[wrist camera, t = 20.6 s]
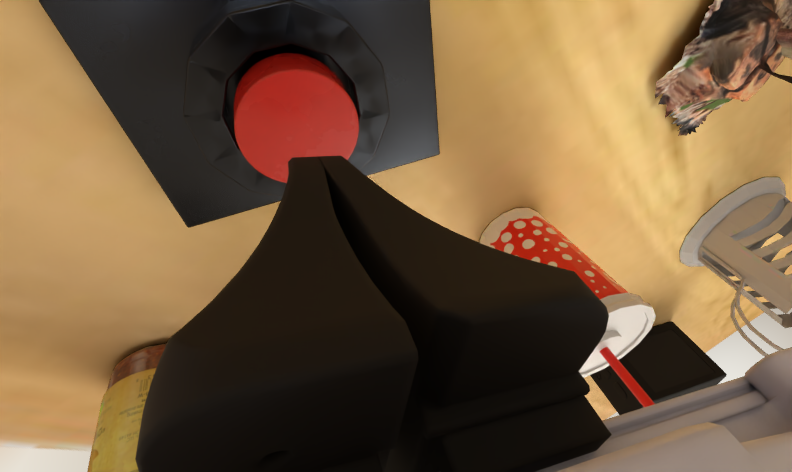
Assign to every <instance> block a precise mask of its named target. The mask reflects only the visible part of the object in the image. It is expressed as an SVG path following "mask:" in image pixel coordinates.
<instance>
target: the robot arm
mask: <svg viewBox="0 0 792 472" xmlns="http://www.w3.org/2000/svg"><path fill="white" fill-rule="evenodd" d="M288 172H289V174H288V179H287V184H286V187H285V190H284V194H283V197H282V200H281V202H280V205H279V207H278V209H277V211H276V214H275V216H274V218H273V220H272V222H271V224H270V226H269V228H268V230H267V232H266V233H265V235H264V237H263V238H262V240H261V241H260V243H259V245H258V246H257V248H256V249H255V250H254V252H253V253H252V255H251V256H250V257H249V259H248V260H247V262H246V263H245V264H244V266H243V267H242V268H241V269H240V271H239V272H238V273H237V274H236V275H235V276H234V278H233V279H232V280H231V281H230V282H229V283H228V284H227V285H226V286H225V287H224V288H223V290H222V291H221V292H220V293H219V294H218V295H217V296H216V297H215V298H214V299H213V300H212V301H211V302H210V303H209V304H208V305H207V306H206V307H205V308H204V309H203V310H202V311H201V312H200V313H198V314H197V315H196V316H195V317H194V318H193V319H192V320H191V321H189V322H188V323H187V324H186V325H185V326H184V327H183V328H182V329H180V330H179V331H178V332H177V333H176V334H174V335H173V336H172V337H171V338H170V339H169V340H168V342H167V344H166V346H165V348H164V351H163V353H162V356H161V358H160V361H159V363H158V365H157V368H156V371H155V374H154V376H153V379H152V382H151V385H150V389H149V392H148V395H147V398H146V401H145V405H144V410H143V414H142V420H141V426H140V432H139V439H138V445H137V451H136V457H135V460H136V463H137V467H138V470H139V472H792V347H791V348H788V349H784V350H781V351H777V352H775V353H772V354H770V355H768V356H766V357H765V358H763V359H761V360H760V361H759V362H757V363H756V364H755V365H754V366H752V367H751V368H750V369H749V370H748V371H747V372H746V373H745V376H744V377H740V378H737V379H734V380H731V381H728V382H725V383H721V384H718V385H715V386H712V387H708V388H705V389H702V390H699V391H696V392H692V393H689V394H686V395H683V396H680V397H676V398H673V399H670V400H667V401H664V402H660V403H657V404H654V405H651V406H648V407H644V408H641V409H638V410H635V411H632V412H628V413H625V414H622V415H619V416H616V417H612V418H609V419H606V420H603V421H602V420H601V419H600V417H599V416H598V415H597V413H596V412H595V410H594V409H593V407H592V406H591V405H590V403H589V402H588V400H587V399H586V398H585V396H584V395H587V394H588V392H589V391H590V388H589V385H588V383H587V382H586V381H585V379H584V378H583V377H582V375H581V374H580V372H579V370H580V369H581V368H582V366H583V365H584V363H585V362H586V361H587V359H588V358H589V356H590V355H591V354H592V352H593V351H594V349H595V348H596V347H597V345H598V344H599V342H600V341H601V339H602V337H603V335H604V333H605V332H606V328H607V323H608V318H609V314H608V311H607V307H606V306H605V305H604V304H603V302H602V301H601V300H600V299H599V298H598V297H597V296H596V295H595V294H594V293H593V291H592V290H591V289H590V288H589V287H588V286H587V285H586V284H585V283H584V282H583V280H582V279H581V278H580V277H579V276H578V275H577V274H576V273H575V272H574V271H571V270H567V269H563V268H559V267H555V266H551V265H547V264H544V263H540V262H536V261H532V260H528V259H525V258H521V257H518V256H515V255H512V254H509V253H506V252H503V251H500V250H497V249H494V248H492V247H489V246H486V245H484V244H481V243H478V242H476V241H474V240H471V239H469V238H467V237H464V236H462V235H460V234H458V233H455V232H453V231H451V230H449V229H447V228H445V227H443V226H441V225H439V224H437V223H435V222H433V221H432V220H430V219H428V218H426V217H424V216H422V215H421V214H419V213H417V212H416V211H414V210H412V209H411V208H409V207H408V206H406V205H405V204H403V203H402V202H400V201H399V200H397V199H396V198H394V197H393V196H392V195H390V194H389V193H387V192H386V191H385V190H383V189H382V188H381V187H379V186H378V185H377V184H376V183H374V182H373V181H372V180H371V179H369V178H368V177H367V176H366V175H364V174H363V173H362V172H361V171H360V170H358V169H357V168H356V167H355V166H354V165H352V164H351V163H350V162H349V161H348V160H346V159H345V158H344V157H342V156H317V157H292V158H291V159H290V160H289V161H288Z"/></svg>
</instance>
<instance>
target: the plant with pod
mask: <svg viewBox="0 0 792 472" xmlns="http://www.w3.org/2000/svg"><path fill="white" fill-rule="evenodd" d="M708 8H710V10H709V11H708V12H707V13H706V15H705V17H704V20H703V22H702V24H701V26H700V35H699V36H698V37H696V38H695V39H694V40H693V41H691V42H690V43H689V44H688V45H686V47H685V50H684V54H683V57H682V60H681V61H680V62H678V63H677V64H676V65H675V66H674V68H673V70H671V71H668V72H667V73H666V75H665V76H664V77H662V78H661V79H659V80H658V81H656V92H655V98H656V97H658V96H659V95H661V94H662V93H664V94H663V96H662V98H661V100H660V102H659V104H666V105H667V107H666V115H665V118H666V117H667V116H668V115H669V114H670V113H671V112H672V111H673V110H674V109H675V110H674V112H673V113H672V114H671V115H670V116H672V115H674V114H676V113H677V114H676V115H674V116H673V118H678V119H677V120H676V121H674V122H673V123H672V124H674V123H678V124H677V126H678V125H681V126H682V127H681V126H680V127H681V128H680V127H679V128H680V129H679V130H680V132H679V135H687V134H688V133H689V134H691V131H693V132H696V130H695V128H696V127H699V125H700V124H703V122H702V121H705V120H706V117H707V115H708V114H709V113H711V112H712V111H713V110H716V109H719V108H720V107H721V106H722V105H724V104H725V103H726V102H729V101H730V100H732V99H739V100H741V101H742V102H743V101H749V99H750V97H751V96H752V95H755V94H756V93H757V91H758V90H759V89H760V88H761V87H762V86H763V85H764V84H765V82H766V81H767V80H768V79H769V77H770V76H771V75H773V76H775V77H777V78H780V79H783V80H785V81H787V82H790V83H792V77H790V76H784V75H779V74H776V73H774V71H775V70H776V68H777V67H778V66H779V65H780V64H781V62H782V61H783V59H784V58H785V57H788V58H790V59H792V0H714V3H713V4H712V5H710V6H708ZM678 112H679V113H678ZM670 116H669V117H670ZM679 130H678V131H679ZM679 135H678V136H679Z"/></svg>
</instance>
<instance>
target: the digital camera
mask: <svg viewBox="0 0 792 472" xmlns="http://www.w3.org/2000/svg"><path fill="white" fill-rule="evenodd" d="M619 361H620V363H621V364H622V365H623V366H624V367H625V369H626V370H627V371H628V372H629V373H630V375H631V376H632V377H633V378H634V379H635V381H636V382H637V383H638V384H639V385H640V386H641V388H642V389H643V390H644V391H645V392H646V394H647V395H648V396H649V397H650V398H651V400H652V401H653V402H654V403H655V404H657V403H660V402H664V401H667V400H670V399H673V398H676V397H680V396H683V395H686V394H689V393H692V392H696V391H699V390H702V389H705V388H708V387H712V386H715V385H717V384H718V383H719V382H720V381H721V380H722V379H723V378H724V377H726V373H725V372H724V371H723V370H722V369H721V368H720V367H719V366H718V365H717V364H716V363H715V362H714V361H713V360H712V359H711V358H709V356H707V355H706V354H705V353H704V352H703V351H702V350H701V349H700V348H699V347H698V346H697V345H696V344H695V343H694V342H693V341H692V340H691V339H690V338H689V337H688V336H687V335H686V334H685V333H684V332H683V331H682V330H680V329H679V328H678V327H677V326H676V325H675V324H674V323H673V322H669V323H665V324H662V325H659V326H656V327H652V328H651V330H650V331H649V332H648V333H647V335H646V336H645V337H644V338H643V339H642V341H641V342H640V343H639V344H638V345H637V346H635V347H634V348H633V349H632V350H631V351H629V352H628V353H627V354H626V355H625V356H623V357H622V358H620V359H619ZM590 376H591V377H592V378H593V380H594V381H595V382H596V384H597V385H598V386H599V388H600V389H601V391H602V392H603V393H604V395H605V396H606V397H607V399H608V400H609V401H610V403H611V404H612V405H613V407H614V408H615V409H616V411H617V412H618V413H619V415H622V414H625V413H628V412H632V411H635V410H638V409H641V408H644V407H643V405H642V404H641V403H640V402H639V401H638V399H637V398H636V397H635V396H634V394H633V393H632V392H631V391H630V389H629V388H628V387H627V386H626V384H625V383H624V382H623V381H622V379H621V378H620V377H619V376H618V375H617V373H616V372H615V371H614V370H613V368H612V367H611V366H610V365H609V366H607V367H606V368H604V369H602V370H600V371H598V372H596V373H593V374H591V375H590Z"/></svg>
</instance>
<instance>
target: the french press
mask: <svg viewBox="0 0 792 472" xmlns="http://www.w3.org/2000/svg"><path fill="white" fill-rule="evenodd" d="M785 196H786V192H785V185H784V183H783V182H782V181H781V179H780V178H779V177H764V178H761V179H759V180H756V181H753V182H751V183H748V184H746V185H743V186H742V187H740V188H739V189H737V190H736V191H734V192H733V193H731V194H729V195H728V196H726V197H725V198H723V199H722V200H720V201H719V202H718V203H717V204H716V205H715V206H714V207H713V208H711V209H710V210H709V211H708V212H707V213H706V214H705V215H704V216H703V217H701V218H700V220H699V221H698V222H697V223H696V225H695V226H694V227H693V229H692V230H691V231H690V232H689V234H688V235H687V236H686V238H685V240H684V243H683V245H682V247H681V249H680V261H681V262H682V263H683V264H685V265H687V266H706V267H707V268H709V269H710V270H711V271H713V272H714V273H715V274H716V275H718V276H719V277H720V278H721V279H723V280H724V281H725V282H726V283H728V284H729V285H730V286H731V287H733V288H734V289H735V290H736V291H737V292H736V294H735V298H734V300H733V302H732V304H731V318H732V321H733V323H734V325H735V327H736V329H737V330H738V331H739V333H740V334H741V336H742V337H743V338H744V339H745V340H746V341H747V342H748V343H749V344H751V345H752V346H753V347H754V348H755V349H756V350H757V351H758V352H759V353H760V354H762V355H764V356H765V357H766V356H768V354H766V353H765V352H764V351H763V350H762V349H760V348H759V347H758V346H757V345H756V344H755V343H753V342H752V341H751V340H750V339H749V338H748V337H747V336H746V335H745V333H744V332H743V331H742V329H741V328H740V327H739V324H738V322H737V320H736V318H735V307H736V309H737V311H738V313H739V315H740V317H741V318H742V319H743V321H744V322H745V323H746V325H747V326H748V327H749V329H750V330H752V331H753V332H754V333H755V334H757V335H758V336H759V337H760V338H762V339H763V340H764V341H765V342H766V343H768V344H769V345H771V346H772V347H773V348H775V349H777V350H779V351H781V350H784V349H782V348H780V347H779V346H777V345H775V344H774V343H772V342H771V341H770V340H768V339H767V338H766V337H765V336H764V335H762V334H761V333H759V332H758V331H757V330H756V329H755V328H754V327H753V326H752V325H751V324H750V322H749V321H748V320H747V319H746V317H745V315H744V313H743V312H742V310H741V308H740V295H741V294H742V295H743V296H745V297H746V298H747V299H748V300H750V301H751V302H752V303H754V304H755V305H756V306H757V307H759V308H760V309H761V310H763V311H764V312H765V313H766V314H768V315H769V316H770V317H771V318H773V319H774V320H775V321H777V322H778V323H779V324H781V325H782V326H783V327H785V328H788V327H792V312H791V313H790V314H786V313H787V312H788V311H789V310H790V309H791V308H792V274H789V275H785V274H784V272H785V270H786V269H787V268H788V267H789V266H790V265H792V251H791V252H789V253H788V254H787V255H786V256H785V257H784V258H781V259H778V260H775V261H772V262H771V260H772V259H773V258H774V257H775V255H776V254H777V253H778V252H779V251H780V250H781V249H783V248H785V247H787V246H789V245H791V244H792V202H790V201H789V200H788V199H787V198H786V197H785ZM776 233H779V234H781V235H782V236H784V237H783V238H781V239H779V240H777V241H775V242H774V243H772V244H770V245H768V246H765V247H762V248H761V246H762V245H763V244H764V243H765V241H766V240H767V239H769V238H770V237H772V236H773V235H775V234H776ZM728 276H736V277H738V278H739V279H740V280H741V281H733V280H731V279H730V278H729V277H728ZM744 286H749V287H751V288H752V289H753V290H755V291H745V290H744V289H743V288H744ZM740 293H741V294H740ZM755 297H764V298H765V299H767V300H768V301H769V302H763V303H761V302H760V301H758V300H757V299H756V298H755ZM774 308H779V309H780V310H781V311H783V312H784V313H785V314H783V315H776V314H775V313H774V312H773V311H771V310H770V309H774Z"/></svg>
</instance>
